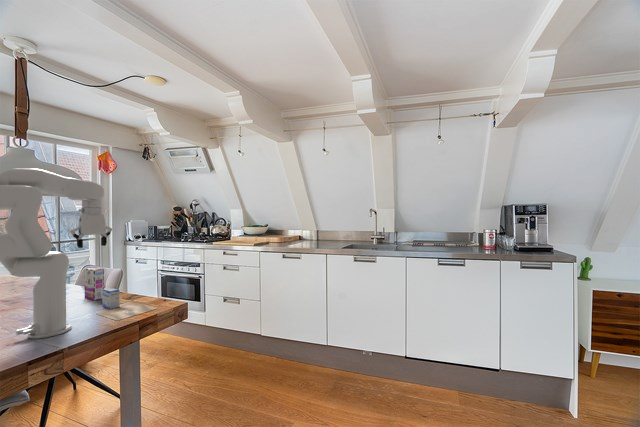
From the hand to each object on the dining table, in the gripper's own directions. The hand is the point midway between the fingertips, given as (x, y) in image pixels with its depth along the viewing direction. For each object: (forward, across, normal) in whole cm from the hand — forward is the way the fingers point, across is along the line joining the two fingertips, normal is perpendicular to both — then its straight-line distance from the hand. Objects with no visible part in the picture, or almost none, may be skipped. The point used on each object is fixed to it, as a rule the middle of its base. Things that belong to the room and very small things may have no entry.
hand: (92, 246), depth 144 cm
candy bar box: (+31, +9, +20) cm, 38 cm away
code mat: (+30, +6, -19) cm, 36 cm away
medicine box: (+31, +6, -4) cm, 31 cm away
